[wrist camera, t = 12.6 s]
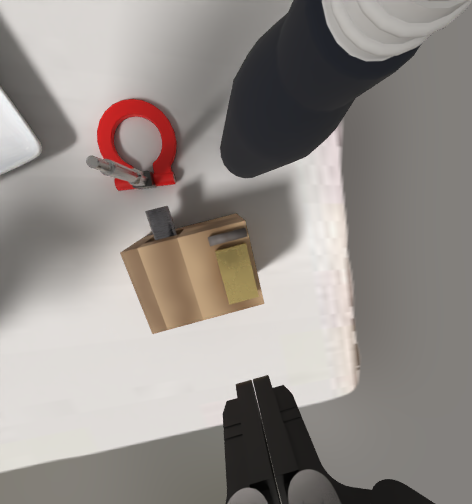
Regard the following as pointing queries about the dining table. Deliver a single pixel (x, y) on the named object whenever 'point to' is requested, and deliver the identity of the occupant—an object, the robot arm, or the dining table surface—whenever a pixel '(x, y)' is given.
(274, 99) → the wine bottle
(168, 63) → the dining table surface
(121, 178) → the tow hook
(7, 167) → the salad plate
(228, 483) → the robot arm
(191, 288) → the block
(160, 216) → the pin
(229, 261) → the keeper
